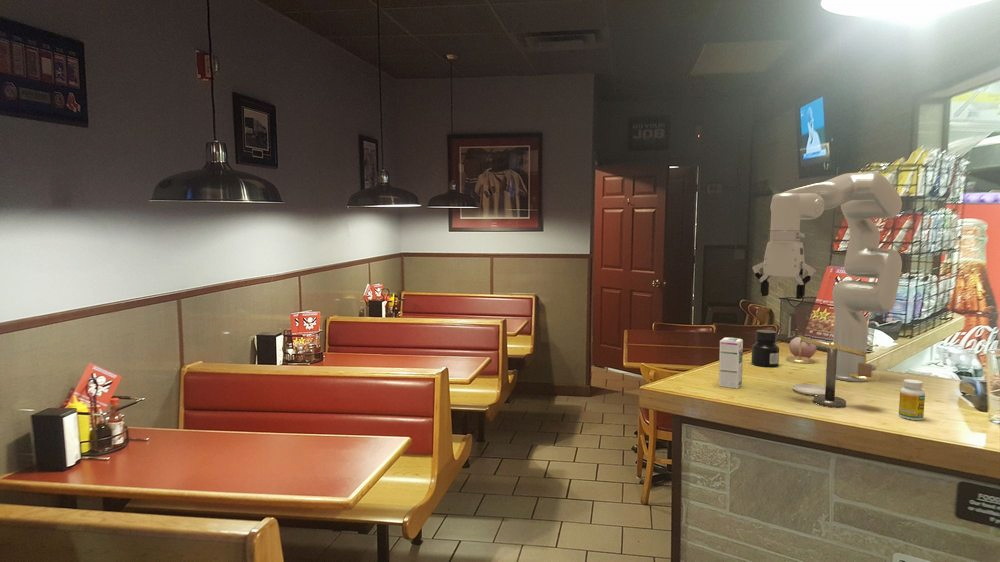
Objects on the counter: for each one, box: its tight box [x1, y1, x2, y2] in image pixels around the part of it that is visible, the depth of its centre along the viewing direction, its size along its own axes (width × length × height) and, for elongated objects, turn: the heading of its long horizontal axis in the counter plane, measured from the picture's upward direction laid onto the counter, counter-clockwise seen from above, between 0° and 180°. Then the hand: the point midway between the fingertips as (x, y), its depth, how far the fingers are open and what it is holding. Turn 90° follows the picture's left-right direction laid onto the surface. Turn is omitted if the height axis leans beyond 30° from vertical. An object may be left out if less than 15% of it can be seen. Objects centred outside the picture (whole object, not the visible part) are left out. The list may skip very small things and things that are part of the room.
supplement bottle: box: [898, 378, 926, 421], centre depth 157 cm, size 5×5×10 cm
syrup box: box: [718, 337, 744, 390], centre depth 188 cm, size 6×6×14 cm
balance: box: [785, 336, 881, 409], centre depth 169 cm, size 8×23×18 cm, turn 62°
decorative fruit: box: [788, 333, 817, 359], centre depth 223 cm, size 9×8×10 cm
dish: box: [791, 383, 826, 396], centre depth 182 cm, size 11×11×1 cm
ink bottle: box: [751, 329, 780, 368], centre depth 217 cm, size 10×9×12 cm
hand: (781, 297), depth 175 cm, fingers open, 9 cm apart
